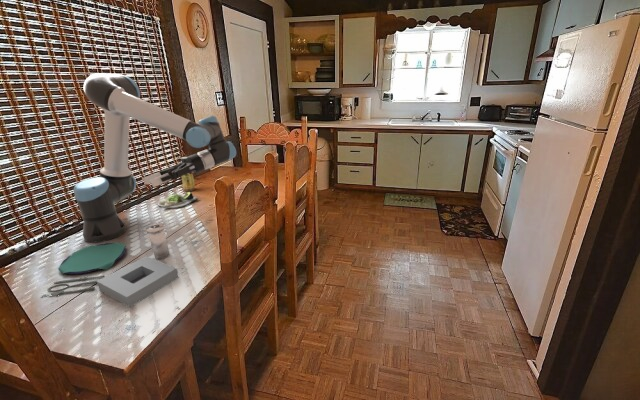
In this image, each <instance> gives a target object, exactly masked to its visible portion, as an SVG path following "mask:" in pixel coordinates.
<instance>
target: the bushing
mask: <svg viewBox="0 0 640 400" xmlns="http://www.w3.org/2000/svg"><path fill="white" fill-rule="evenodd" d="M165 229H166V224H165V223H164V222H155V223H151V224H149V225H147V226H146V227H145V232H146V233H147V234H148V236H149V241H150V244H151V247H152V252H153V256H154V259H155V260H158V261H160V260H164V259H167V258H168V257H169V256H170V255H171V253H170V248H169V244H168V240H167V236H166V232H165Z"/></svg>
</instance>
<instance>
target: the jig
mask: <svg viewBox="0 0 640 400" xmlns="http://www.w3.org/2000/svg"><path fill="white" fill-rule="evenodd" d="M178 278H179V273H178V269H177V267H175V266H172V265H169V264H167V263H164V262H162V261H160V260H158V259H155V258H152V257H150V256H147V255H145V256H144V257H142V258H139V259H138V260H136V261H135V262H132V263H129V264H128V265H126V266H124V267H122V268H120V269H118V270H116V271H114V272H112V273H110V274H107V275H105V277H104V278H103V277H101V278H100V279H97V280H98V281H97V283H96V284H97V287H98V290H99V291H100V292H101V293H104V294H105V295H108V297H110V298H112V299H115V301H118V302H120V303H121V304H123V305H125V306H127V307H129V308H132V307H133V306H135V305H136V304H138V303H140V302H141V301H142V300H145V299H146V298H147V297H149V296H150V295H151V296H152V295H153V294H154V293H155V292H157V291H159V290H160V289H162V288H164V287H165V286H167V285H169V284H170V283H172V282H173V281H175V280H176V279H178Z"/></svg>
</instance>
